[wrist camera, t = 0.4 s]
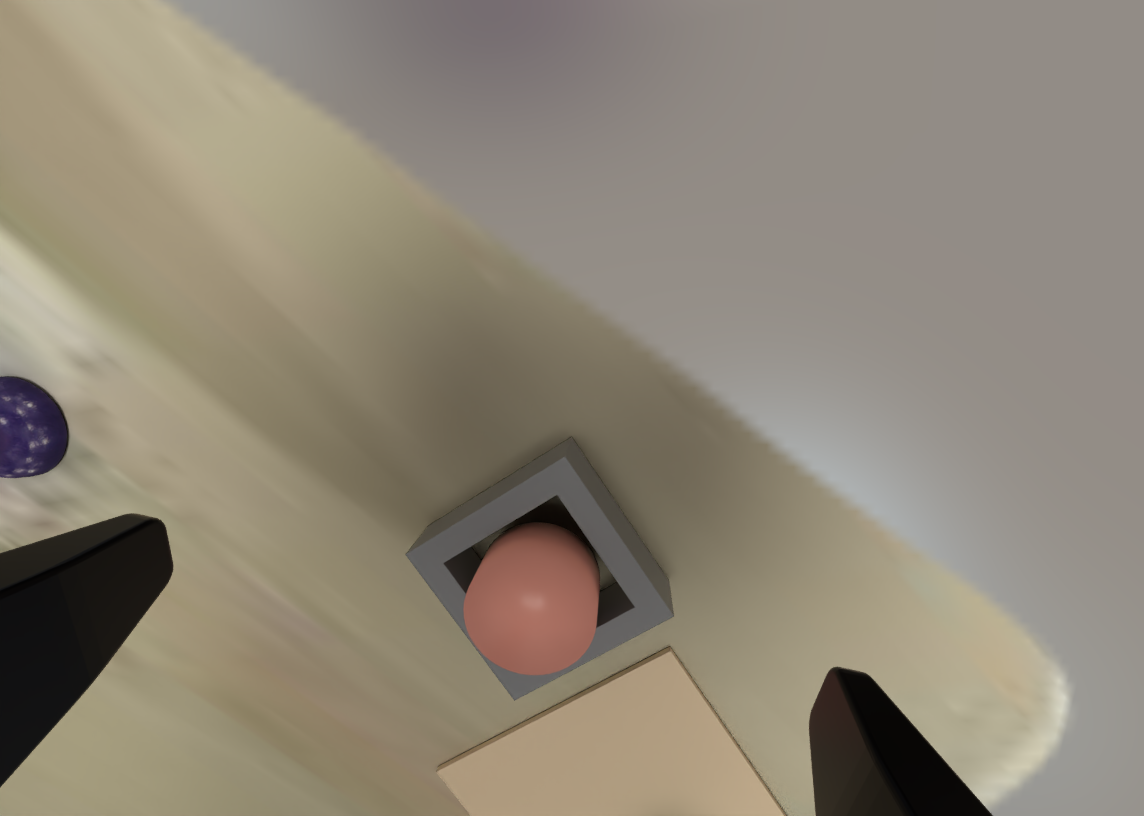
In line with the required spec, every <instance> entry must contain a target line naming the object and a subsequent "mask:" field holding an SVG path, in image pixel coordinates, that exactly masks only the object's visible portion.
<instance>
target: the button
mask: <svg viewBox="0 0 1144 816" xmlns="http://www.w3.org/2000/svg"><path fill="white" fill-rule="evenodd" d="M599 591H600V572H599V568H598V564H597V561H596V559H595V557H594V555H593V553H592V551H591V550H590V549H589V547H588V546H587V545H586V543H585V542H583V541H582V540H581V539H580V538H579V537H578V536H577V535H575V534H574V533H572V532H571V531H569V530H567V529H565V528H563V527H560V526H557V525H554V524H549V523H542V522H533V523H525V524H521V525H518V526H515V527H512V528H510V529H508V530H506V531H505V532H504V533H502V534H501V535H500V536H498V537H497V538H496V539H495V540H494V542H493V543H492V544H491V545H490V547H489V548H488V550H487V552H486V554H485V556H484V558H483V560H482V562H481V564H480V566H479V568H478V570H477V572H476V574H475V576H474V578H473V580H472V582H471V584H470V586H469V588H468V590H467V593H466V596H465V600H464V608H463V610H464V620H465V625H466V628H467V631H468V634H469V636H470V638H471V640H472V641H473V643H474V644H475V646H476V647H477V648H478V649H479V651H480V652H481V653H482V654H483V655H484V656H485V657H486V658H488V659H489V660H490V661H492V662H493V663H495V664H496V665H498V666H500V667H502V668H504V669H506V670H509V671H512V672H515V673H519V674H524V675H545V674H551V673H554V672H558V671H560V670H563V669H565V668H567V667H569V666H570V665H572V664H573V663H575V662H576V661H577V660H578V659H580V658H581V656H582V655H583V654H584V653H585V652H586V651H587V649H588V648H589V646H590V644H591V642H592V640H593V637H594V634H595V631H596V625H597V614H598V602H599Z"/></svg>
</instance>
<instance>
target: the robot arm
mask: <svg viewBox="0 0 1144 816" xmlns="http://www.w3.org/2000/svg"><path fill="white" fill-rule="evenodd" d="M172 572H173V560H172V555H171V550H170V545H169V540H168V535H167V530H166V527H165V525H164V523H163V522H162V521H161V520H159V519H158V518H154V517H149V516H145V515H140V514H132V513H131V514H125V515H122V516H118V517H115V518H112V519H109V520H106V521H102V522H99V523H96V524H93V525H89V526H86V527H83V528H80V529H77V530H73V531H70V532H67V533H64V534H61V535H57V536H54V537H51V538H48V539H44V540H41V541H38V542H35V543H32V544H28V545H25V546H22V547H19V548H16V549H12V550H9V551H6V552H3V553H0V787H1V786H2V785H3V784H4V783H5V782H6V780H7V779H8V778H9V777H10V776H11V775H12V774H13V773H14V771H15V770H16V769H17V768H18V767H19V766H20V765H21V764H22V762H23V761H24V760H25V759H26V758H27V757H28V756H29V755H30V753H31V752H32V751H33V750H34V749H35V748H36V747H37V746H38V744H39V743H40V742H41V741H42V740H43V739H44V738H45V737H46V735H47V734H48V733H49V732H50V731H51V730H52V729H53V728H54V726H55V725H56V724H57V723H58V722H59V721H60V720H61V719H62V718H63V716H64V715H65V714H66V713H67V712H68V711H69V710H70V709H71V707H72V706H73V705H74V704H75V703H76V702H77V701H78V699H79V698H80V697H81V696H82V695H83V694H84V692H85V691H86V690H87V689H88V688H89V687H90V685H91V684H92V683H93V682H94V681H95V679H96V678H97V677H98V675H99V674H100V673H101V672H102V670H103V669H104V668H105V667H106V665H107V664H108V663H109V661H110V660H111V659H112V657H113V656H114V655H115V653H116V652H117V651H118V649H119V648H120V647H121V645H122V644H123V643H124V641H125V640H126V639H127V637H128V636H129V635H130V633H131V632H132V631H133V629H134V628H135V627H136V625H137V624H138V623H139V621H140V620H141V619H142V617H143V616H144V615H145V613H146V612H147V611H148V609H149V608H150V607H151V605H152V604H153V603H154V601H155V600H156V599H157V597H158V596H159V595H160V593H161V592H162V591H163V589H164V588H165V587H166V585H167V584H168V582H169V580H170V578H171V576H172ZM809 736H810V749H811V761H812V774H813V787H814V800H815V812H816V816H993V815H992V814H991V813H990V812H989V811H988V810H987V808H986V807H985V806H984V805H983V804H982V803H981V802H980V800H979V799H978V798H977V797H976V796H975V795H974V794H973V792H972V791H971V790H970V789H969V788H968V787H967V786H966V784H965V783H964V782H963V781H962V780H961V779H960V778H959V776H958V775H957V774H956V773H955V772H954V771H953V770H952V768H951V767H950V766H949V765H948V764H947V763H946V762H945V761H944V759H943V758H942V757H941V756H940V755H939V754H938V753H937V751H936V750H935V749H934V748H933V747H932V746H931V745H930V743H929V742H928V741H927V740H926V739H925V738H924V737H923V735H922V734H921V733H920V732H919V731H918V730H917V729H916V727H915V726H914V725H913V724H912V723H911V722H910V721H909V719H908V718H907V717H906V716H905V715H904V714H903V713H902V711H901V710H900V709H899V708H898V707H897V706H896V705H895V703H894V702H893V701H892V700H891V699H890V698H889V697H888V696H887V694H886V693H885V692H884V691H883V690H882V689H881V688H880V686H879V685H878V684H877V683H876V682H875V681H874V680H873V679H872V678H871V677H870V676H869V675H868V674H866V673H863V672H860V671H855V670H851V669H846V668H842V667H833V668H832V669H831V670H829V672H828V674H827V675H826V678H825V680H824V682H823V685H822V687H821V689H820V691H819V694H818V696H817V698H816V701H815V703H814V705H813V708H812V710H811V714H810V720H809Z"/></svg>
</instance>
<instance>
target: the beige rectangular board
mask: <svg viewBox="0 0 1144 816" xmlns="http://www.w3.org/2000/svg"><path fill="white" fill-rule="evenodd" d="M436 772H437V773H438V775H439V776H440V777H441V779H442V780H443V781H444V782H445V784H446V785H447V786H448V787H449V789H450V790H451V791H452V793H453V794H454V795H455V796H456V798H457V799H458V800H459V801H460V803H461V804H462V805H463V807H464V808H465V809H466V810H467V812H468V813H469V814H470V815H471V816H786V814H785V813H784V811H783V810H782V808H781V807H780V805H779V804H778V803H777V801H776V800H775V798H774V797H773V795H772V794H771V792H770V791H769V789H768V788H767V787H766V785H765V784H764V782H763V781H762V779H761V778H760V776H759V775H758V773H757V772H756V771H755V769H754V768H753V766H752V765H751V763H750V762H749V760H748V759H747V758H746V756H745V755H744V753H743V752H742V750H741V749H740V747H739V746H738V744H737V743H736V742H735V740H734V739H733V737H732V736H731V734H730V733H729V731H728V730H727V728H726V727H725V726H724V724H723V723H722V721H721V720H720V718H719V717H718V715H717V714H716V713H715V711H714V710H713V708H712V707H711V705H710V704H709V702H708V701H707V699H706V698H705V697H704V695H703V694H702V692H701V691H700V689H699V688H698V686H697V685H696V683H695V682H694V681H693V679H692V678H691V676H690V675H689V673H688V672H687V670H686V669H685V668H684V666H683V665H682V663H681V662H680V660H679V659H678V657H677V656H676V654H675V653H674V652H673V650H672V649H671V647H668V648H666V649H664V650H662V651H660V652H658V653H656V654H654V655H652V656H651V657H649V658H647V659H645V660H643V661H641V662H639V663H637V664H635V665H633V666H631V667H629V668H627V669H625V670H623V671H622V672H620V673H618V674H616V675H614V676H612V677H610V678H608V679H606V680H604V681H602V682H600V683H598V684H596V685H595V686H593V687H591V688H589V689H587V690H585V691H583V692H581V693H579V694H577V695H575V696H573V697H571V698H569V699H567V700H566V701H564V702H562V703H560V704H558V705H556V706H554V707H552V708H550V709H548V710H546V711H544V712H542V713H540V714H539V715H537V716H535V717H533V718H531V719H529V720H527V721H525V722H523V723H521V724H519V725H517V726H515V727H513V728H511V729H510V730H508V731H506V732H504V733H502V734H500V735H498V736H496V737H494V738H492V739H490V740H488V741H486V742H484V743H483V744H481V745H479V746H477V747H475V748H473V749H471V750H469V751H467V752H465V753H463V754H461V755H459V756H457V757H455V758H454V759H452V760H450V761H448V762H446V763H444V764H442V765H440V766H438V769H437V771H436Z"/></svg>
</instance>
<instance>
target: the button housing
mask: <svg viewBox="0 0 1144 816" xmlns="http://www.w3.org/2000/svg"><path fill="white" fill-rule="evenodd" d="M556 495H558V497H559V498H560V500H561V501H562V503H563V504H564V505H565V507H566V508H567V510H568V511H569V513H570V514H571V516H572V517H573V518H574V520H575V521H576V523H577V524H578V526H579V527H580V529H581V530H582V531H583V533H584V534H585V536H586V537H587V539H588V540H589V542H590V543H591V544H592V546H593V547H594V549H595V550H596V552H597V553H598V555H599V556H600V558H601V559H602V560H603V562H604V563H605V565H606V566H607V568H608V569H609V571H610V572H611V573H612V575H613V576H614V578H615V579H616V581H617V583H615V584H613V585H612V586H610V587H608V588H606V589H604V590H603V591H601V592H599V602H598V614H597V625H596V631H595V634H594V637H593V640H592V642H591V644H590V646H589V648H588V649H587V651H586V652H585V653H584V654H583V655H582V656H581V658H580V659H578V660H577V661H576V662H575V663H573V664H572V665H570V666H569V667H567V668H565V669H563V670H560V671H558V672H554V673H551V674H545V675H524V674H519V673H515V672H512V671H509V670H506V669H504V668H502V667H500V666H498V665H496V664H495V663H493V662H492V661H490V660H489V659H488V658H486V657H485V656H484V655H483V654H482V653H481V652H480V651H479V649H478V648H477V647H476V646H475V644H474V643H473V641H472V640H471V638H470V636H469V634H468V631H467V628H466V625H465V620H464V610H463V608H464V600H465V596H466V593H467V590H468V588H469V586H470V584H471V582H472V580H473V578H474V576H475V574H476V572H477V570H478V568H479V566H480V564H481V562H482V561H481V560H480V558H479V557H478V556H477V554H476V553H475V551H474V550H473V549H472V547H471V546H473V545H474V544H476V543H478V542H479V541H481V540H483V539H484V538H486V537H488V536H489V535H491V534H493V533H494V532H496V531H498V530H499V529H501V528H503V527H504V526H506V525H507V524H509V523H511V522H512V521H514V520H516V519H517V518H519V517H521V516H522V515H524V514H526V513H527V512H529V511H531V510H532V509H534V508H536V507H537V506H539V505H541V504H542V503H544V502H546V501H547V500H549V499H551V498H552V497H554V496H556ZM405 555H406V556H407V557H408V559H409V560H410V561H411V563H412V564H413V565H414V567H415V568H416V569H417V571H418V572H419V573H420V575H421V576H422V577H423V579H424V580H425V581H426V583H427V584H428V585H429V587H430V588H431V589H432V591H433V592H434V593H435V595H436V596H437V597H438V599H439V600H440V602H441V603H442V604H443V606H444V607H445V608H446V610H447V611H448V612H449V614H450V615H451V616H452V618H453V619H454V620H455V622H456V623H457V624H458V626H459V627H460V628H461V630H462V631H463V632H464V634H465V635H466V636H467V638H468V639H469V640H470V642H471V643H472V644H473V646H474V647H475V648H476V650H477V651H478V652H479V654H480V655H481V656H482V658H483V659H484V660H485V662H486V663H487V664H488V666H489V667H490V668H491V670H492V671H493V673H494V674H495V675H496V677H497V678H498V679H499V681H500V682H501V683H502V685H503V686H504V687H505V689H506V690H507V691H508V693H509V694H510V695H511V697H512V698H513V699H514V701H515V700H516V699H518V698H520V697H522V696H524V695H526V694H528V693H530V692H532V691H533V690H535V689H537V688H539V687H541V686H543V685H545V684H547V683H549V682H551V681H552V680H554V679H556V678H558V677H560V676H562V675H564V674H566V673H568V672H569V671H571V670H573V669H575V668H577V667H579V666H581V665H583V664H585V663H586V662H588V661H590V660H592V659H594V658H596V657H598V656H600V655H602V654H603V653H605V652H607V651H609V650H611V649H613V648H615V647H617V646H619V645H621V644H622V643H624V642H626V641H628V640H630V639H632V638H634V637H636V636H638V635H639V634H641V633H643V632H645V631H647V630H649V629H651V628H653V627H655V626H656V625H658V624H660V623H662V622H664V621H666V620H668V619H670V618H672V617H673V616H674V613H673V606H672V598H671V591H670V584H669V580H668V579H667V577H666V576H665V574H664V573H663V571H662V570H661V568H660V567H659V565H658V564H657V562H656V561H655V559H654V558H653V556H652V555H651V553H650V552H649V551H648V549H647V548H646V546H645V545H644V543H643V542H642V540H641V539H640V537H639V536H638V534H637V533H636V531H635V530H634V528H633V527H632V525H631V524H630V522H629V521H628V519H627V518H626V516H625V515H624V514H623V512H622V511H621V509H620V508H619V506H618V505H617V503H616V502H615V500H614V499H613V497H612V496H611V494H610V493H609V491H608V490H607V488H606V487H605V485H604V484H603V482H602V481H601V480H600V478H599V477H598V475H597V474H596V472H595V471H594V469H593V468H592V466H591V465H590V463H589V462H588V460H587V459H586V457H585V456H584V454H583V453H582V451H581V450H580V448H579V447H578V445H577V444H576V443H575V441H574V440H573V438H572V437H571V438H569V439H567V440H566V441H564V442H563V443H561V444H559V445H558V446H556V447H554V448H553V449H551V450H550V451H548V452H546V453H545V454H543V455H542V456H540V457H538V458H537V459H535V460H534V461H532V462H530V463H529V464H527V465H525V466H524V467H522V468H521V469H519V470H517V471H516V472H514V473H513V474H511V475H509V476H508V477H506V478H505V479H503V480H501V481H500V482H498V483H496V484H495V485H493V486H492V487H490V488H488V489H487V490H485V491H484V492H482V493H480V494H479V495H477V496H476V497H474V498H472V499H471V500H469V501H467V502H466V503H464V504H463V505H461V506H459V507H458V508H456V509H455V510H453V511H451V512H450V513H448V514H447V515H445V516H443V517H442V518H440V519H438V520H437V521H435V522H434V523H432V524H430V525H429V526H427V528H426V529H425V530H424V532H423V533H422V534H421V535H420V537H419V538H418V539H417V540H416V542H415V543H414V544H413V546H412V547H411V548H410V549H409V551H408V552H407V553H406V554H405Z"/></svg>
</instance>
